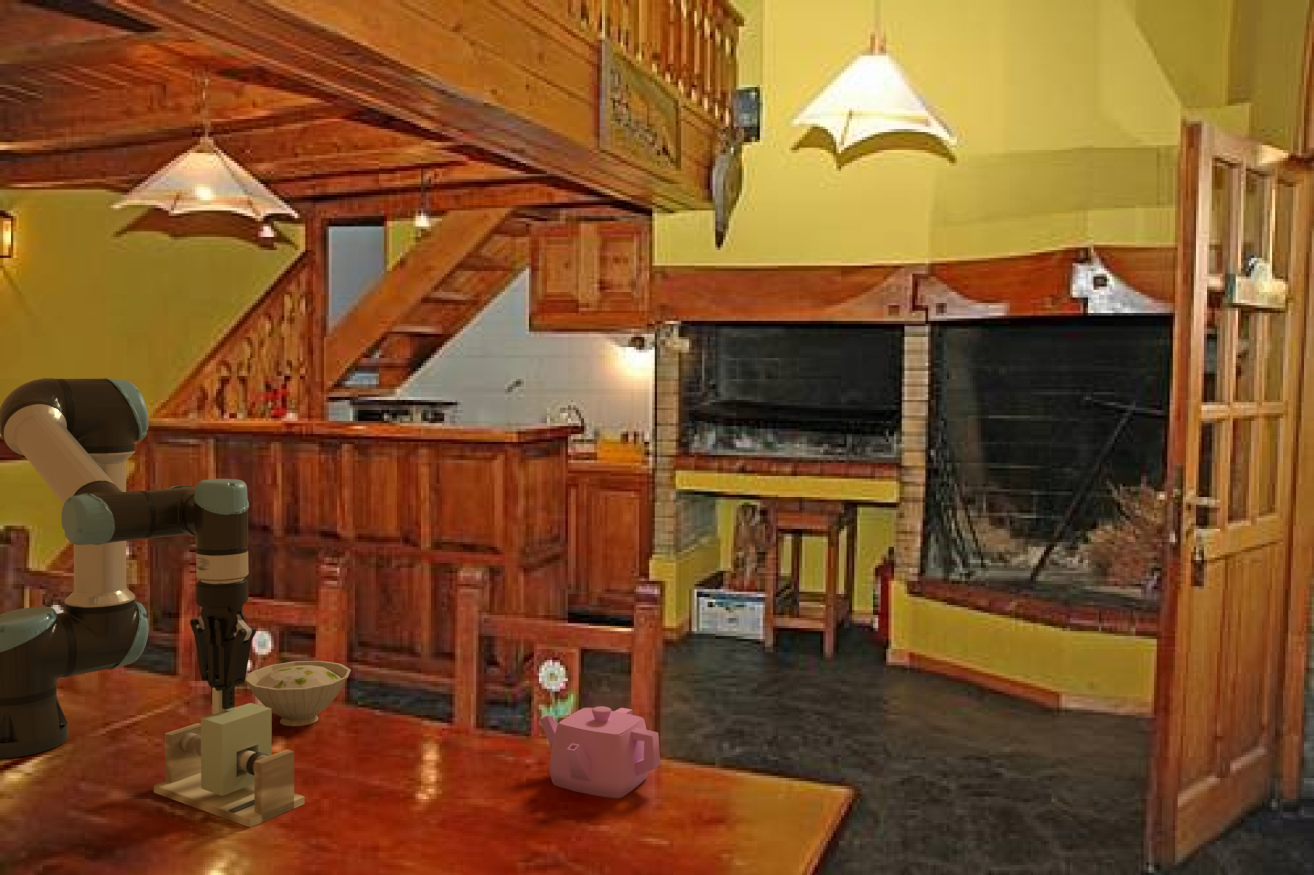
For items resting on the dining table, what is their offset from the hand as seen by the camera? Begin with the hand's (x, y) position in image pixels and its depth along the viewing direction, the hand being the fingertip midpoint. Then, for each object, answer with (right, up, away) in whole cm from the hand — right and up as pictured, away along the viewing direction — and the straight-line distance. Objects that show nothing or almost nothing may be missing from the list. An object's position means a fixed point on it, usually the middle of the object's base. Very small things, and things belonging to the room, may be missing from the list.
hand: (222, 727), depth 164 cm
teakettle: (+58, -12, +11) cm, 60 cm away
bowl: (-1, -9, +37) cm, 38 cm away
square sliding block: (+3, -8, -1) cm, 9 cm away
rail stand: (+1, -11, 0) cm, 11 cm away
